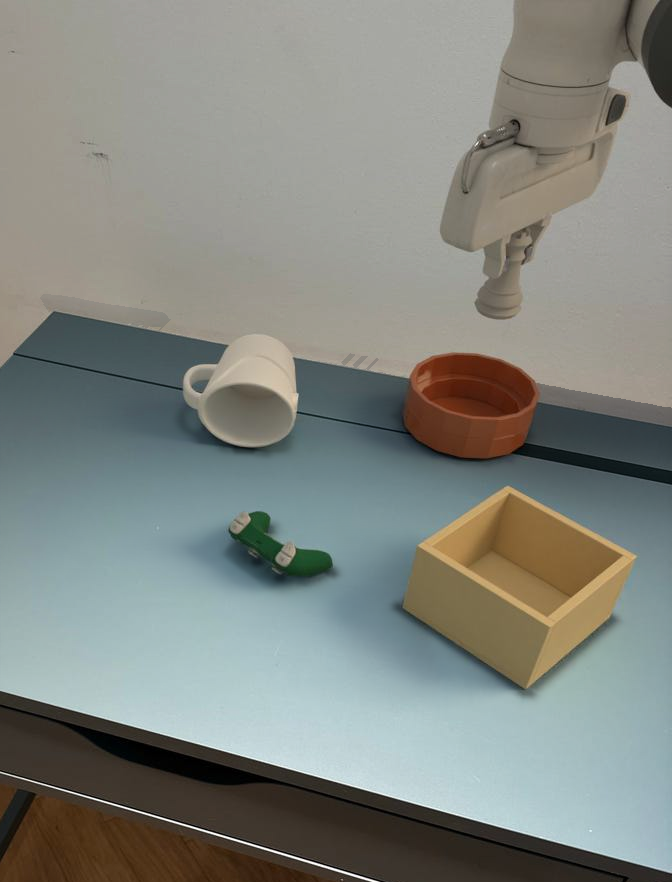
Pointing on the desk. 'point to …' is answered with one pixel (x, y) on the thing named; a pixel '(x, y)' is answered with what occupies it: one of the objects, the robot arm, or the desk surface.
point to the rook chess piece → (505, 282)
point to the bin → (516, 584)
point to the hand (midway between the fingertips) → (507, 268)
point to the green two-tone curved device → (277, 547)
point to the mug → (247, 392)
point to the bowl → (470, 405)
